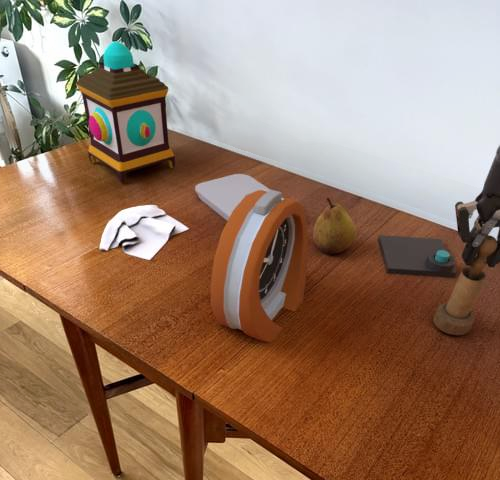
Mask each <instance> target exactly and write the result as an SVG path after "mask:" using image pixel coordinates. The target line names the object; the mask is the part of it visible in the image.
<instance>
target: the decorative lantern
mask: <svg viewBox="0 0 500 480" xmlns="http://www.w3.org/2000/svg"><path fill="white" fill-rule="evenodd" d="M75 86H76V88H77V89H78V91H79V92H80V94H81V96H82V102H83V107H84V112H85V117H86V123H87V126H88V127H87V128H88V133H89V138H90V143H89V146H88V150H87V155H88V159H89V161H90V163H91V164H96V162H97V160H98V161H99V162H100V163H102V164H104V165H106V167H108V168H110V169H111V170H113V171H115V172H116V174H117V175H118V179H119V182H120V183H121V184H125V183H126V175H127V174H129V173H130V172H133V171H137V170H140V169H144V168H147V167H151V166H153V165H158V164H161V163H164V162H168V166H169V168H170V169H174V168H175V167H176V157H175V154H174V152H173V150H172V149H171V147H170V143H169V133H168V132H169V131H168V119H167V106H166V105H167V104H166V97H167V95H168V92H169V87H168V86H167V85H166V83H164V82H163V81H161V80H160V78H158V77H156V76H153V75H151V74H149V73H147V72H145V70H144V69H142V68H140V65H139V64H136V63H134V56H133V53H132V52H131V51H130V49H129V48H128V47H127V46H126V45H125V44H124V43H122V42H120V41H117V40H116V41H113V42H110V43H109V44H108V46H107V47H106V48H105V50H104V52H103V62H99V66H97V67H95V70H91V72H89V73H84V74H82V75H81V77H79V78H78V79H77V80H76V81H75Z"/></svg>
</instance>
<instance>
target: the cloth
mask: <svg viewBox="0 0 500 480" xmlns="http://www.w3.org/2000/svg"><path fill="white" fill-rule="evenodd" d="M104 227H105V228H104V230H103V232H102V235H101V237H100V239H101V240H100V244H99V251H107V252H108V251H109V250H113V249H115V248H118V247H119V244H120V243H121V245H122V246H121V247H122V251H123V253H124V254H127V255H129V256H131V257H136V258H139V259H143V260H147V261H151V260H152V259H153V258H154V257H155V256H156V254H157V253H158V252H159V251H160V250H162V248H163V247H164V246H165V245H166V244H167V242H168V241H169V238H170V237H173V236H175V235H178V234H180V233H183V232H186V231H189V230H190V228H189V227H188V226H186V225H184V224H183V223H181V222H180V221H178V220H177V219H175V218H173V217H172V216H170V215H168V214H167V213H166V212H165V211H164V210H163V209H161V208H159V207H158V205H155V204H146V205H138V206H132V207H128V208H124V209H122V210H120V211H118V212H117V213H116V214H115V215H114V217H113V218H112V219H110V220H109V221H108V222H107V224H106V225H105V226H104Z"/></svg>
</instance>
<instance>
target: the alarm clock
mask: <svg viewBox="0 0 500 480" xmlns="http://www.w3.org/2000/svg"><path fill="white" fill-rule="evenodd" d="M270 190H271V191H268V192H267V191H263V190H257V191H255V192H253V193H250V194H248V195H246V196H245V197H244V198H243V199H242V201H241V202H240V203H239V204H238V205H237V206H236V208H235V209H234V210H233V212H232V214H231V216H230V218H229V219H228V221H227V220H226V223H225V226H224V228H223V229H222V231H221V234H220V236H219V241H218V244H217V248H216V252H215V254H214V257H213V264H212V271H211V276H210V277H211V278H210V306H211V310H212V314H213V317H214V318H215V319H216V321H217V322H218V323H219V324H220V325H222V326H224V327H226V328H229V329H232V330H236V329H238V330H240V331H242V332H243V333H244V335H246V336H248V337H252V338H254V339H256V340H258V341H261V342H266V343H270V342H273V341H274V339H275V338H276V337H277V335H278V334H279V333H280V332H281V330H282V327H281V326H279V324H276V323H275V322H274V321H273V319H274V318H275V317H276V316H277V314H278V313H279V312H280V311H281V309H282V308H283V309H286V310H288V311H292V312H296V311H297V310H298V308H299V307H300V305H301V304H302V303H303V301H304V296H305V291H306V282H307V274H308V255H309V253H308V252H309V251H308V249H309V247H308V246H309V245H308V244H309V235H308V223H307V222H308V221H307V216H306V210H305V206H304V205H303V204H302V203H301V202H299V201H297V200H296V199H294V198H290V197H286V198H283V197H282V196H283V193H282V191H279V190H274V189H270ZM281 198H283V199H281Z"/></svg>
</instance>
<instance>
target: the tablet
mask: <svg viewBox="0 0 500 480" xmlns="http://www.w3.org/2000/svg"><path fill="white" fill-rule="evenodd" d="M194 189H195V190H194V191H195V194H197V197H198V198H199V200H201V202H203V203H204V204H206V205H207V206H208V207H209V208H211V209H212V210H213V211H214V212H216V213H217V214H218V215H220V217H222V218H223V219H224V220H226V222H227V221H228V219H229V218H230V216H231V214H232V212H233V210H234V209H235V208H236V206H237V205H238V204H239V203H240V202H241V201H242V199H243V198H244V197H245V196H246V195H248V194H250V193H253V192H255V191H257V190H263V191H267V192H268V191H271V190H272V189H270V188H268V187H267V186H266V185H264V184H262V183H261V182H260V181H259V180H257V179H255V178H253V177H252V176H250V175H249V174H245V173H234V174H230V175H226V176H224V177H223V176H222V177H218V178H215V179H211V180H207V181H202V182H200V183H198V184H196V185H195V188H194ZM281 199H284V198H283V197H282V198H281Z"/></svg>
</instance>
